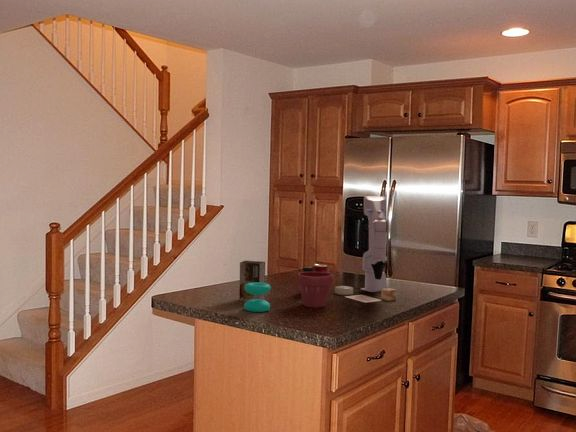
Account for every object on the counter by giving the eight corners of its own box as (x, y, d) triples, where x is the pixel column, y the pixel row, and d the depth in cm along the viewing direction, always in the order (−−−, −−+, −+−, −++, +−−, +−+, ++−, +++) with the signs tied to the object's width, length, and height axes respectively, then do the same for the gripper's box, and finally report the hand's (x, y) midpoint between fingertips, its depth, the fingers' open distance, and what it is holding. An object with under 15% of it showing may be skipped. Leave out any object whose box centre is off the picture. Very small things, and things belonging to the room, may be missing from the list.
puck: (344, 291, 264) (344, 285, 264) (356, 294, 258) (356, 288, 257) (331, 293, 259) (331, 286, 259) (343, 296, 253) (343, 289, 253)
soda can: (326, 293, 258) (327, 266, 257) (310, 292, 260) (311, 265, 259) (328, 290, 265) (329, 264, 265) (313, 289, 267) (313, 263, 266)
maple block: (388, 298, 251) (388, 288, 251) (395, 300, 248) (396, 289, 247) (380, 299, 249) (381, 288, 248) (388, 301, 245) (388, 290, 245)
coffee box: (264, 300, 239) (265, 261, 239) (259, 303, 233) (260, 263, 233) (244, 298, 242) (245, 260, 242) (238, 300, 236) (239, 261, 235)
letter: (361, 294, 257) (361, 294, 257) (383, 300, 245) (383, 300, 245) (344, 296, 251) (344, 296, 251) (365, 302, 240) (365, 302, 239)
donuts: (248, 281, 226) (273, 282, 224) (247, 306, 227) (272, 308, 225) (241, 285, 216) (267, 287, 214) (241, 311, 217) (267, 313, 215)
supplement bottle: (313, 292, 259) (314, 266, 258) (316, 295, 252) (317, 268, 251) (298, 292, 258) (299, 266, 257) (301, 295, 251) (302, 268, 250)
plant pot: (297, 301, 240) (298, 270, 239) (330, 302, 239) (331, 271, 238) (296, 308, 225) (297, 275, 225) (332, 309, 225) (333, 277, 224)
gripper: (376, 245, 256) (375, 276, 257) (363, 248, 244) (362, 280, 245) (391, 247, 253) (390, 277, 254) (379, 249, 240) (378, 282, 241)
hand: (378, 279), depth 249 cm, fingers closed
